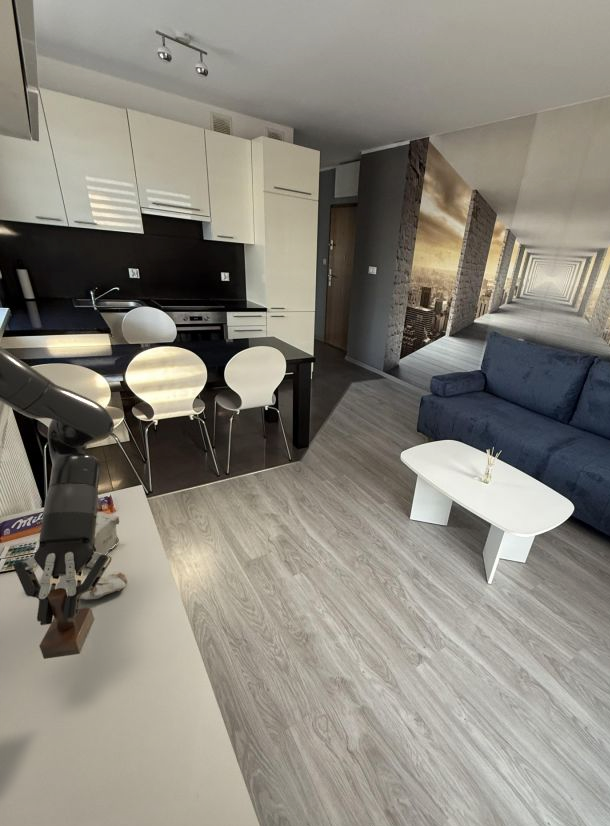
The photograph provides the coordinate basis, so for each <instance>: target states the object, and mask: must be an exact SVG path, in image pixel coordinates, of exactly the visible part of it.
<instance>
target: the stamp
mask: <svg viewBox="0 0 610 826" xmlns="http://www.w3.org/2000/svg"><path fill="white" fill-rule="evenodd" d="M66 597H68V593H67V589H65V588H64V587H58V588H56V589H55V590H53V591H51V592H50V593H49V594H48V596H47V598H48V601H49V604H50V607H51V610H52V613H53V619H52V623H51V624H49V627H48V629H47V630H46V633H45V634H44V635H43V637H42V640H41V642H40V643H39V649H40V652H41V655H42V658H43V659H44V660H46V659H54V658H61V657H68V656H75V655H80V654H81V652H82V650H83V647H84V645H85V643H86V641H87V638H88V636H89V633H90V631H91V628H92V626H93V624H94V621H95V616H94V613H93V609H92V607H91V606H89V607H82V608H81V607H79V611H78V615H77V617H74V620H73V621H72V622H63V614H64V606H65V598H66Z"/></svg>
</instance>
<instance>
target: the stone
mask: <svg viewBox="0 0 610 826" xmlns="http://www.w3.org/2000/svg"><path fill="white" fill-rule="evenodd" d="M82 584H83V582H82ZM127 584H128V580H127V577H126V573H125V572H122V571H116V572H113V573H109V574H108V575H105V576H101V578H100V580H99V581H98V583H97V585H96V586H95V588H94V589H93V590H92V591H88V592H85V593H83V594H82V595H81V596H80V600H87V601H88V600H97V599H100V598H102V597H104V596H106V595H109V594H111V593H115V592H116V591H117V592H120V591H121V590H122V589H124V588H125V587H126V585H127Z"/></svg>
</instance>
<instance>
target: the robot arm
mask: <svg viewBox="0 0 610 826" xmlns="http://www.w3.org/2000/svg"><path fill="white" fill-rule="evenodd" d="M0 402H1V403H2V404H4V405H5V406H7V407H8V408H11V409H13V410H14V411H16V412H18V413H19V414H22V415H23V416H25V417H27V418H30V419H48V420H49V419H50V423H49V425H48V427H47V429H48V430H47V442H48V450H49V455H50V460H51V464H52V466H51V472H50V473H51V474H50V479H49V484H48V490H47V492H46V493H47V494H46V496H45V497H46V498H45V499H44V506H43V513H42V520H41V527H40V532H39V539H38V540H39V541H38V544H39V545H38V548H37V549H36V551H35V552H34V554H33V557H30V558H28V559H26V560H24V561H16V562H15V563H14V565H13V568H14V571H15V573H16V576H17V578H18V580H19V582H20V585H21V587H22V589H23V591H24V593H25V596H26V597H32V598H36V599H38V608H37V615H36V620H37V622H39V623H40V626H46V625H51V623H52V621H53V620H54V616H53V613H52V610H51V607H50V604H49V601H48V598H47V596H48V594H49V593H50V592H51V591H53V590H55V589H58V588H57V587H58V585H59V583H60V582H61V577H62V576H65V582H66V583H67V584H66V588H67V589H66V592H67V595H68V597H66V598H65V606H64V614H63V622H72V621H73V620H74V617H77V615H78V611H79V609H80V601H81V598H80V596H81V595H82V594H83V593H85V592H88V591H92V590H93V589H94V588H95V586H96V585H97V583H98V581H99V580H100V578H101V577H103V575H104V573H105V572H106V570H107V568H108V567H109V565H110V564H111V562H112V561H113V560H112V559H113V557H111V556H110V555H108V554H107V555H103V554H100V553H98V552H96V548H95V546H94V539H95V529H96V519H97V513H98V512H99V483H100V473H101V464H100V461H99V460H98V458H96V457H95V456H94V455H90V454H88V453H87V447H88V446H89V445H91V444H95V443H98V442H101V441H103V440H105V439H107V438H109V437H110V436H111V435H112V434H113V431H114V428H115V423H114V419H113V417H112V416H111V414H110V412H109V411H108V410H107V409H106V408H105V407H104V406H103V405H101V404H100V403H98V402H97V401H94V400H93V399H91V398H89V397H86V396H84V395H82V394H80V393H77V392H75V391H73V390H71V389H68V388H65V387H62V386H60V385H58V384H56V383H54V382H53V381H52V380H50V379H49V378H48V377H46V376H44V375H43V374H42V373H41V372H39V371H37V370H36V369H35V368H33V367H32V366H30V365H28V364H27V363H26V362H24V361H22V360H21V359H20V358H18V357H17V356H15V355H14V354H12V353H11V352H9V351H7V350H6V349H4V348H3V347H1V346H0ZM92 558H93V561H92V565H93V568H90V571H89V572H88V574H87V575H86V577H85V579H84V569H85V568H86V567H87V566H86V565H87V564H88V563H89V562H90V560H91V559H92ZM37 565H38V566H39V567H40V570H42V576H41V579H40V582H39V580H38V578H37V576H36V573H35V572H36V570H37ZM40 583H41V585H40ZM82 583H83V584H82Z"/></svg>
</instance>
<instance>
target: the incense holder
mask: <svg viewBox="0 0 610 826" xmlns="http://www.w3.org/2000/svg"><path fill="white" fill-rule="evenodd" d="M119 524H120V517H119V516H117V515H114V514H112V513H111V514H110V513H106V512H103V511H98V513H97V519H96V529H95V539H94V546H95V548H96V552H98V553H100V554H103V555H105V554H106V553H107V552H108V551H109V550H110V548H112V547H113V546H114V545H115V544H117V543H118V542H119V543H120V538H119V536H118V535H117V525H119ZM119 543H118V544H119ZM109 552H110V551H109ZM109 552H108V553H109ZM92 561H93V558H92V559H91V560H90V562H89V563H88V564H87V565H86V566H85V567H87V568H89V569H92V568H93V565H92Z"/></svg>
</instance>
